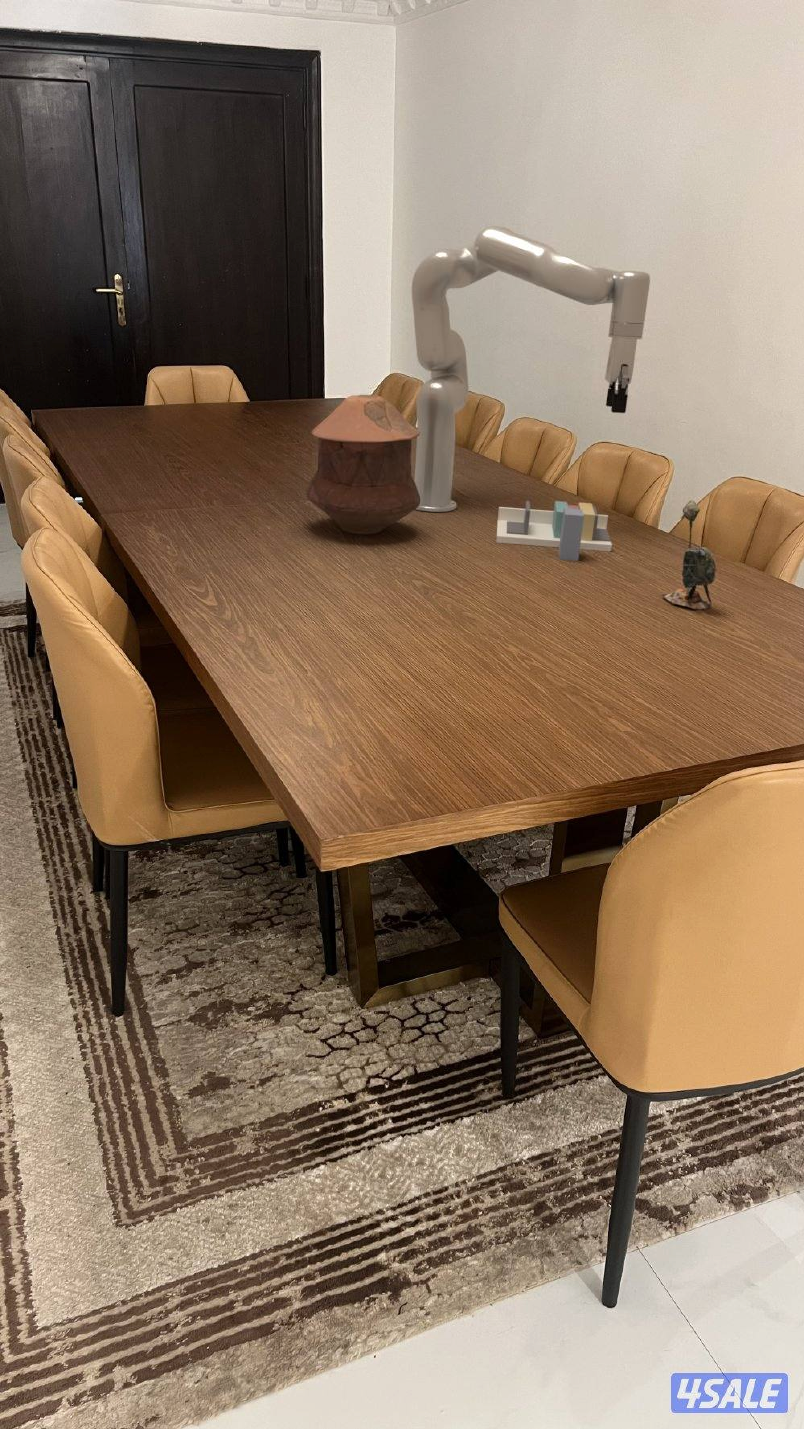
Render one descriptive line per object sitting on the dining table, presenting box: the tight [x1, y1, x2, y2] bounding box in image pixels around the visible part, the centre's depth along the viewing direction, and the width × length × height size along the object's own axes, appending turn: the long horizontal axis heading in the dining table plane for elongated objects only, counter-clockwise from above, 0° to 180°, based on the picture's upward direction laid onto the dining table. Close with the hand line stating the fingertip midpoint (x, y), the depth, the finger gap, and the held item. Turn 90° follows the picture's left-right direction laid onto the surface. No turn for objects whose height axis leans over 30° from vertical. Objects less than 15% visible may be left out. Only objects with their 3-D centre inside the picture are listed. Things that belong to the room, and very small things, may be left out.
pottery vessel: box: [305, 394, 420, 535], centre depth 228 cm, size 26×26×30 cm
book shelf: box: [496, 500, 613, 552], centre depth 236 cm, size 26×16×8 cm, turn 84°
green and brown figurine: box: [662, 500, 717, 611], centre depth 193 cm, size 8×11×20 cm
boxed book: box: [558, 508, 584, 562], centre depth 222 cm, size 4×6×10 cm, turn 174°
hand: (615, 409), depth 235 cm, fingers open, 9 cm apart
